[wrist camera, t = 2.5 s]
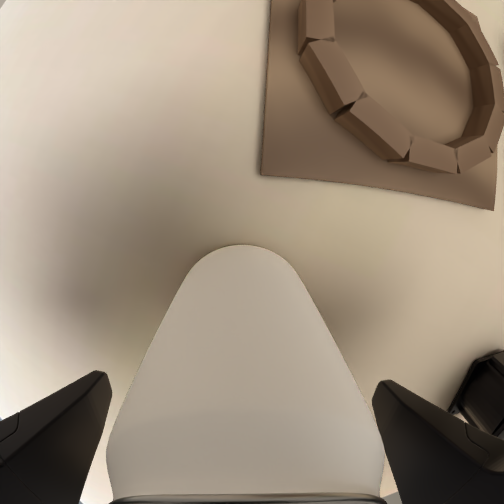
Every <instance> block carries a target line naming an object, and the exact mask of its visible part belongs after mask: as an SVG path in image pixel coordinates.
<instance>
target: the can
mask: <svg viewBox="0 0 504 504" xmlns="http://www.w3.org/2000/svg"><path fill="white" fill-rule="evenodd" d="M384 457H385V455H384V445H383V442H382V438H381V435H380V432H379V430H378V428H377V426H376V423H375V421H374V419H373V416H372V414H371V412H370V410H369V408H368V406H367V404H366V402H365V400H364V398H363V396H362V394H361V392H360V389H359V387H358V385H357V383H356V381H355V379H354V378H353V376H352V374H351V372H350V370H349V368H348V366H347V364H346V362H345V360H344V358H343V356H342V354H341V352H340V350H339V348H338V346H337V345H336V343H335V341H334V339H333V337H332V335H331V333H330V331H329V329H328V328H327V326H326V324H325V322H324V320H323V318H322V316H321V315H320V313H319V311H318V309H317V307H316V305H315V304H314V302H313V300H312V298H311V296H310V295H309V293H308V291H307V289H306V288H305V286H304V284H303V282H302V281H301V279H300V277H299V276H298V274H297V273H296V271H295V270H294V269H293V267H292V266H291V265H290V264H289V263H288V262H287V261H286V260H285V259H283V258H282V257H281V256H279V255H277V254H276V253H274V252H272V251H270V250H267V249H265V248H262V247H258V246H252V245H232V246H227V247H223V248H220V249H217V250H215V251H213V252H211V253H209V254H207V255H206V256H204V257H203V258H202V259H200V260H199V261H198V262H197V263H196V264H195V265H194V266H193V267H192V268H191V270H190V271H189V272H188V274H187V276H186V277H185V279H184V281H183V282H182V284H181V286H180V288H179V290H178V291H177V293H176V295H175V297H174V299H173V301H172V303H171V305H170V307H169V308H168V310H167V312H166V314H165V316H164V318H163V320H162V322H161V324H160V326H159V328H158V330H157V332H156V334H155V336H154V338H153V340H152V342H151V344H150V346H149V348H148V350H147V352H146V354H145V356H144V358H143V361H142V363H141V365H140V367H139V369H138V371H137V373H136V375H135V378H134V380H133V382H132V384H131V386H130V388H129V391H128V393H127V395H126V397H125V400H124V402H123V404H122V407H121V409H120V411H119V414H118V416H117V418H116V421H115V423H114V426H113V429H112V431H111V434H110V437H109V441H108V445H107V449H106V462H107V469H108V474H109V478H110V482H111V487H112V491H113V501H112V502H110V503H109V504H387V503H386V501H384V499H382V498H380V485H381V479H382V474H383V467H384Z"/></svg>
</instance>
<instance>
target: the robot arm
mask: <svg viewBox="0 0 504 504" xmlns="http://www.w3.org/2000/svg"><path fill="white" fill-rule="evenodd" d="M111 398H112V389H111V385H110V382H109V378H108V375H107V374H106V373H105V372H102V371H97V370H95V371H93V372H91V373H89V374H87V375H85V376H84V377H82V378H80V379H78V380H77V381H75V382H73V383H71V384H69V385H68V386H66V387H64V388H62V389H60V390H58V391H57V392H55V393H53V394H51V395H49V396H48V397H46V398H44V399H42V400H40V401H38V402H36V403H35V404H33V405H31V406H29V407H27V408H25V409H23V410H21V411H20V413H19V412H18V413H16V414H14V415H12V416H10V417H8V418H6V419H4V420H2V421H0V504H79V500H80V497H81V494H82V491H83V488H84V484H85V481H86V478H87V475H88V472H89V469H90V466H91V464H92V461H93V458H94V455H95V452H96V449H97V447H98V444H99V441H100V439H101V436H102V433H103V429H104V426H105V421H106V417H107V413H108V410H109V406H110V402H111ZM372 406H373V410H374V414H375V418H376V422H377V426H378V430H379V432H380V435H381V438H382V442H383V445H384V450H385V453H386V456H387V459H388V461H389V464H390V467H391V470H392V473H393V476H394V479H395V482H396V485H397V488H398V491H399V495H400V498H401V501H402V504H504V351H503V352H500V353H497V354H494V355H491V356H488V357H485V358H481V359H478V360H476V361H475V362H474V363H473V364H472V366H471V368H470V370H469V373H468V375H467V377H466V379H465V381H464V383H463V385H462V386H461V388H460V390H459V392H458V394H457V396H456V398H455V399H454V401H453V403H452V405H451V406H450V408H449V410H448V412H446V411H444V410H442V409H441V408H439V407H437V406H435V405H434V404H432V403H430V402H428V401H427V400H425V399H423V398H421V397H420V396H418V395H416V394H414V393H413V392H411V391H409V390H408V389H406V388H404V387H403V386H401V385H399V384H397V383H396V382H394V381H392V380H383V381H380V382H379V383H378V385H377V388H376V390H375V393H374V395H373V398H372ZM459 412H460V413H461V414H462V415H463V417H464V418H465V419H466V420H467V422H468V423H469V424H468V423H466V422H465V423H464V421H462V420H461V419H459V418H457V417H455V416H453V415H454V414H457V413H459Z"/></svg>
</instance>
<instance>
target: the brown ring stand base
mask: <svg viewBox="0 0 504 504" xmlns="http://www.w3.org/2000/svg"><path fill="white" fill-rule="evenodd" d="M496 65H499V64H498V62H497V60H496V58H495V56H494V54H493V52H492V50H491V48H490V46H489V44H488V42H487V41H486V39H485V37H484V35H483V33H482V32H481V29H480V25H479V22H478V19H477V16H475V15H474V14H472V13H471V12H469V11H468V10H466V9H465V8H463V7H462V6H461V5H460V4H459V3H458V2H457V1H455V0H271V9H270V27H269V44H268V61H267V78H266V94H265V111H264V127H263V143H262V159H261V175H268V176H281V177H293V178H304V179H314V180H323V181H332V182H340V183H348V184H356V185H363V186H370V187H377V188H383V189H389V190H395V191H401V192H407V193H413V194H418V195H423V196H429V197H434V198H439V199H443V200H448V201H453V202H457V203H462V204H466V205H470V206H474V207H479V208H483V209H487V210H491V211H494V204H495V194H496V179H497V144H498V141H499V138H500V135H501V132H502V129H503V126H504V89H503V82H502V76H501V71H500V69H499V68H498V67H496Z"/></svg>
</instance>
